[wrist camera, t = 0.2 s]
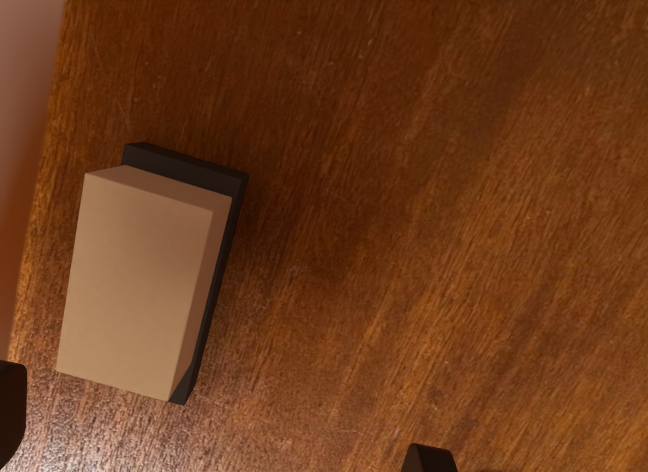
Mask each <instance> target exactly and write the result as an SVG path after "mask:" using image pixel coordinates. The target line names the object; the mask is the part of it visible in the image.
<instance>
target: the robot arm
mask: <svg viewBox="0 0 648 472" xmlns="http://www.w3.org/2000/svg"><path fill="white" fill-rule="evenodd" d="M26 400H27V370H26V368H25V366H24V365H22V364H19V363H14V362H8V361H3V360H0V470H1V469H2V468H3V467H4V466H5V465H6V464H7V463H8V462H9V461H10V459H11V458H12V457H13V455H14V454H15V452H16V451H17V449H18V447H19V446H20V444H21V441H22V439H23V436H24V433H25V428H26ZM401 472H458V471H457V468H456V465H455V462H454V459H453V457H452V454H451V453H450V451H449V450H446V449H441V448H436V447H431V446H426V445H421V444H416V443H412V444H411V445H410V446H409V448H408V451H407V454H406V457H405V460H404V463H403V466H402V470H401Z"/></svg>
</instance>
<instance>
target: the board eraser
mask: <svg viewBox="0 0 648 472" xmlns="http://www.w3.org/2000/svg"><path fill="white" fill-rule="evenodd" d="M248 177H249V175H248V174H245V173H241V172H238V171H235V170H232V169H228V168H225V167H222V166H219V165H215V164H212V163H209V162H206V161H202V160H199V159H196V158H193V157H190V156H186V155H183V154H180V153H177V152H173V151H170V150H167V149H164V148H160V147H157V146H154V145H151V144H147V143H144V142H140V143H131V144H125V146H124V152H123V158H122V163H121V166H118V167H113V168H108V169H103V170H99V171H94V172H89V173H86V174H85V178H84V184H83V191H82V198H81V204H80V211H79V218H78V224H77V231H76V238H75V244H74V251H73V257H72V264H71V271H70V277H69V284H68V291H67V297H66V304H65V311H64V317H63V324H62V330H61V337H60V344H59V350H58V357H57V364H56V371H58V372H61V373H65V374H69V375H72V376H76V377H79V378H83V379H87V380H90V381H94V382H98V383H101V384H105V385H109V386H112V387H116V388H119V389H123V390H127V391H130V392H134V393H138V394H141V395H145V396H149V397H152V398H156V399H159V400H163V401H168V402H171V403H175V404H179V405H182V406H184V405H185V403H186V401H187V400H188V398H189V396H190V394H191V392H192V390H193V388H194V386H195V383H196V379H197V375H198V372H199V368H200V364H201V360H202V356H203V352H204V348H205V344H206V341H207V337H208V333H209V329H210V325H211V321H212V317H213V313H214V309H215V306H216V302H217V298H218V294H219V290H220V286H221V282H222V278H223V275H224V271H225V267H226V263H227V259H228V255H229V251H230V247H231V243H232V240H233V236H234V232H235V228H236V224H237V220H238V216H239V212H240V209H241V205H242V201H243V197H244V193H245V189H246V185H247V181H248Z"/></svg>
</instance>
